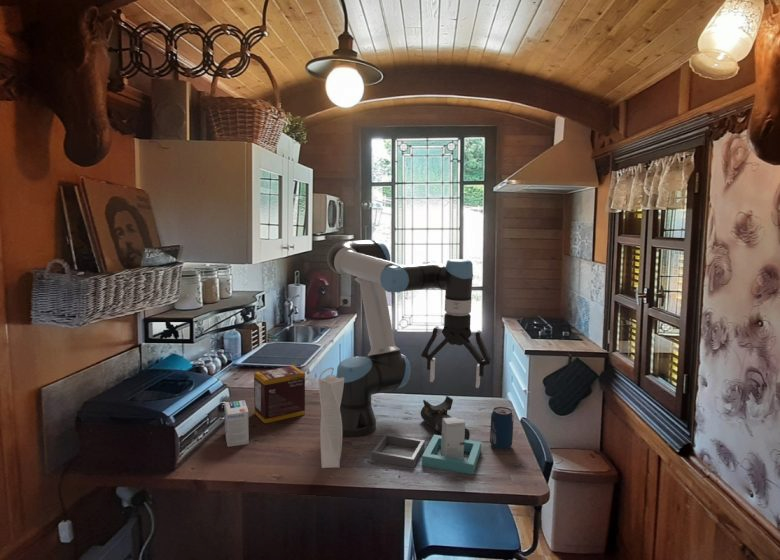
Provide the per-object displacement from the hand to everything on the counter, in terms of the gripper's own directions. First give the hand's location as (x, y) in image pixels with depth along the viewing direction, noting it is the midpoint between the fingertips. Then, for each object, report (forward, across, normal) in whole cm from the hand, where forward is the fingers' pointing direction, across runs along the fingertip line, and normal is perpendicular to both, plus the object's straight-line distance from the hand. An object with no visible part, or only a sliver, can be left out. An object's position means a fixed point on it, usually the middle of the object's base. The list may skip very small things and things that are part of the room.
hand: (454, 383), depth 153 cm
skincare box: (+24, 0, 0) cm, 24 cm away
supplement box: (+24, -65, +11) cm, 70 cm away
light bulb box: (+24, -68, -11) cm, 73 cm away
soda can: (+24, +13, +13) cm, 30 cm away
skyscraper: (+24, -33, -15) cm, 43 cm away
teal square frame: (+23, 0, 0) cm, 23 cm away
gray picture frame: (+24, -16, -3) cm, 28 cm away
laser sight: (+24, -6, +17) cm, 30 cm away
